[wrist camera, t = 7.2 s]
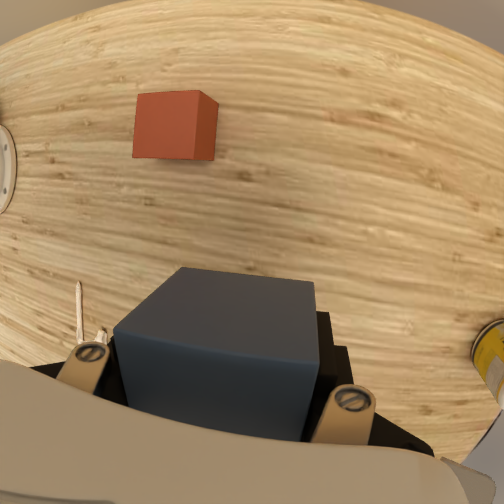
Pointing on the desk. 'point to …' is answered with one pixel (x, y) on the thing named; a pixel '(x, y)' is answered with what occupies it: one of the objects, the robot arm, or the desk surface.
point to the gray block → (223, 352)
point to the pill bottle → (491, 359)
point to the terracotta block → (175, 125)
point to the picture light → (79, 334)
